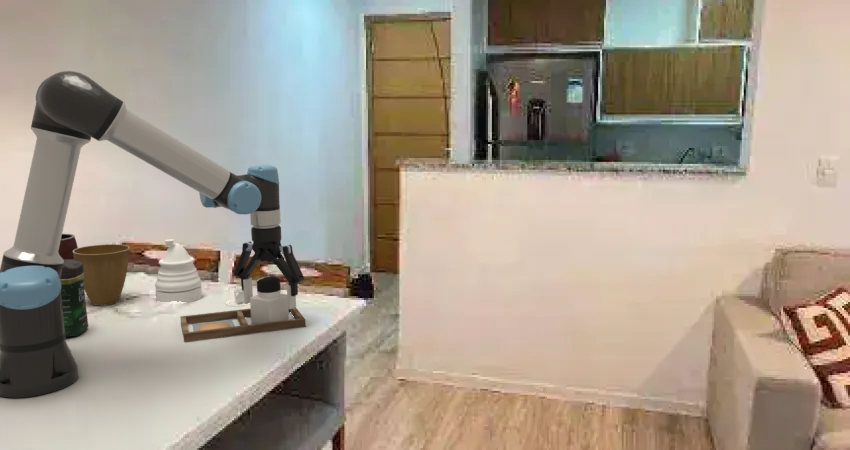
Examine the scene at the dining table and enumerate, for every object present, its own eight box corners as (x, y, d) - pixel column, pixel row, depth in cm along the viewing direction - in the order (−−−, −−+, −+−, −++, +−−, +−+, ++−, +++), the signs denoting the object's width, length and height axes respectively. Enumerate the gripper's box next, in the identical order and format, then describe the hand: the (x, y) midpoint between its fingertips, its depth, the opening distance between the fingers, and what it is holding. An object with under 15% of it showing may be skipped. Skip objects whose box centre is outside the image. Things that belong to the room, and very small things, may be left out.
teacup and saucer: (239, 298, 201) (238, 285, 200) (261, 301, 198) (260, 287, 197) (219, 305, 193) (219, 292, 192) (242, 309, 190) (241, 295, 189)
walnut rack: (305, 326, 173) (305, 319, 172) (184, 342, 162) (183, 334, 161) (293, 310, 187) (293, 303, 186) (180, 323, 176) (180, 316, 175)
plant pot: (84, 312, 186) (79, 256, 183) (72, 301, 197) (67, 248, 194) (140, 302, 195) (136, 249, 192) (125, 292, 206) (121, 241, 204)
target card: (236, 332, 169) (236, 330, 169) (195, 337, 165) (195, 335, 165) (232, 320, 178) (232, 319, 178) (192, 325, 174) (192, 323, 174)
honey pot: (174, 306, 191) (170, 245, 188) (147, 300, 198) (142, 240, 195) (211, 296, 202) (207, 237, 199) (183, 290, 209) (179, 233, 206)
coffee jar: (80, 338, 165) (73, 264, 161) (45, 340, 163) (37, 266, 160) (93, 326, 174) (86, 256, 171) (60, 327, 173) (53, 257, 170)
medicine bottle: (289, 320, 178) (288, 276, 176) (270, 327, 172) (268, 282, 170) (270, 316, 182) (268, 273, 180) (250, 323, 176) (248, 279, 174)
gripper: (315, 226, 171) (318, 306, 175) (235, 220, 181) (240, 296, 184) (299, 231, 164) (302, 314, 168) (217, 225, 174) (222, 304, 177)
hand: (270, 305), depth 176 cm, fingers open, 13 cm apart
